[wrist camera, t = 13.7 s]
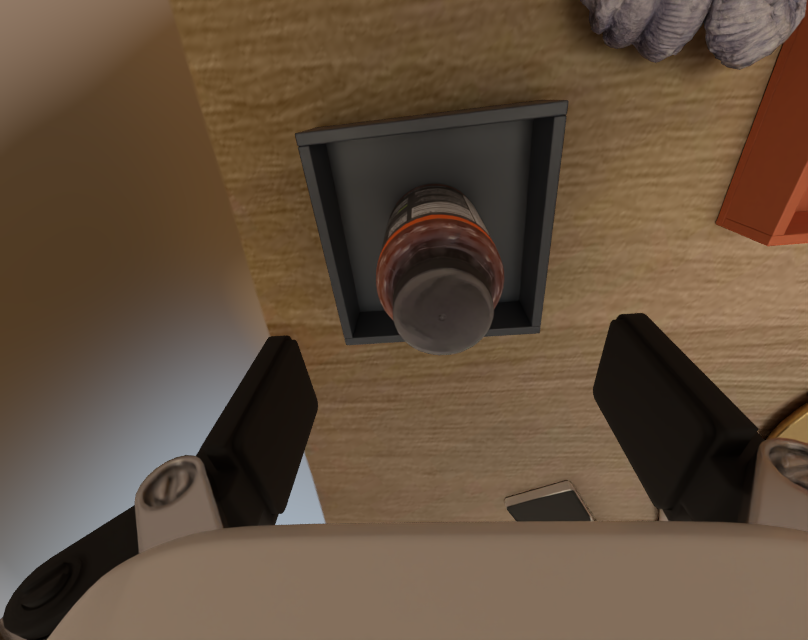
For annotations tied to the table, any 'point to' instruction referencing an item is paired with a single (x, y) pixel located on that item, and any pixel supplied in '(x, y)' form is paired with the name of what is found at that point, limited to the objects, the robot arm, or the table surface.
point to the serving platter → (793, 426)
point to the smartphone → (549, 504)
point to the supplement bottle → (439, 271)
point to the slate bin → (437, 164)
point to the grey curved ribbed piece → (697, 26)
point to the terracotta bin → (775, 156)
